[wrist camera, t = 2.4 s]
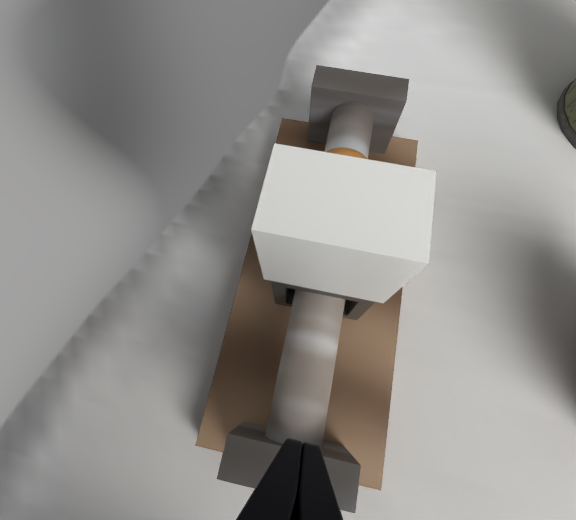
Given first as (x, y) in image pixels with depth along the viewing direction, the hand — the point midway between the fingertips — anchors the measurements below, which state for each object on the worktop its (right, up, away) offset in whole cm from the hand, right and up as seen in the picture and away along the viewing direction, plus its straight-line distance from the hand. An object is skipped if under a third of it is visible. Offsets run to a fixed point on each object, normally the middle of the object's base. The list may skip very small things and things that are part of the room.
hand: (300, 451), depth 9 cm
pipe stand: (+2, +4, +13) cm, 13 cm away
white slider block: (+1, +3, +11) cm, 11 cm away
